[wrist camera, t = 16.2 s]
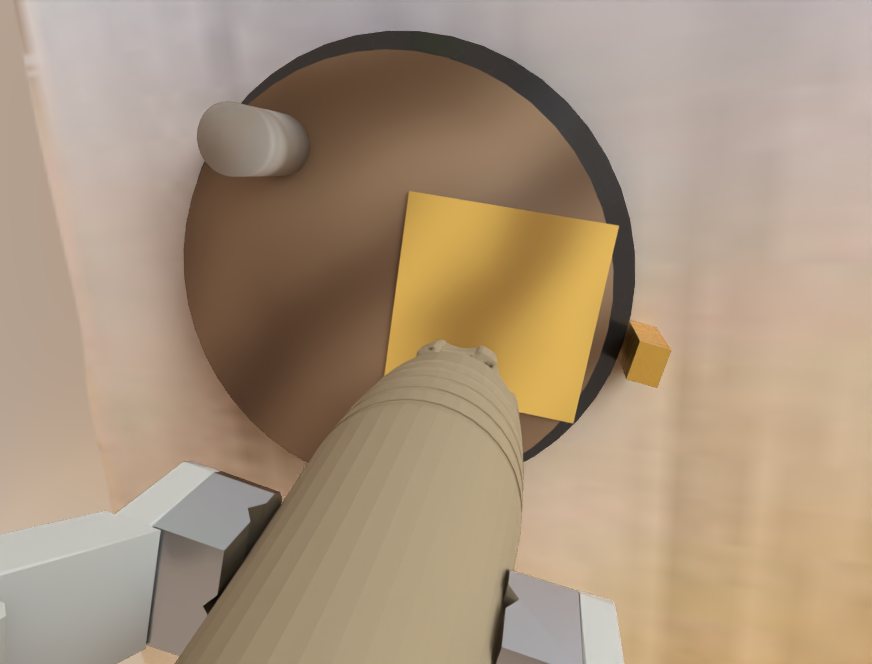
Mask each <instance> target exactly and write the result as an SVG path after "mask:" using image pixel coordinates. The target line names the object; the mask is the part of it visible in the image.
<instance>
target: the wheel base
mask: <svg viewBox="0 0 872 664" xmlns="http://www.w3.org/2000/svg"><path fill="white" fill-rule="evenodd" d="M382 49H389V50H406V51H418V52H423V53H427V54H432V55H437V56H442V57H447V58H449V59H452V60H455V61H458V62H460V63H463V64H466V65H469V66H471V67H474V68H477V69H479V70H481V71H482V72H484V73H486V74H488V75H490V76H492V77H494V78H495V79H497V80H499V81H501V82H503V83H505V84H506V85H508V86H509V87H510V88H512V89H513V90H514V91H516V92H517V93H518V94H520V95H521V96H523V97H524V98H525V99H527V100H528V101H529V102H531V103H532V104H533V105H534V106H535V107H536V108H537V109H538V110H539V111H540V112H541V113H542V114H543V115H544V116H545V117H546V118H547V119H548V120H549V121H550V122H551V123H552V124H553V125H554V126H555V127H556V128H557V130H558V131H559V132H560V133H561V135H562V136H563V137H564V139H565V140H566V141H567V142H568V144H569V145H570V146H571V148H572V149H573V150H574V152H575V153H576V155H577V157H578V158H579V160H580V162H581V164H582V165H583V167H584V169H585V171H586V172H587V174H588V176H589V178H590V179H591V182H592V184H593V187H594V189H595V192H596V194H597V197H598V199H599V202H600V204H601V207H602V209H603V213H604V217H605V221H606V224H612V225H618V226H619V228H618V233H617V237H616V241H615V246H614V250H613V254H612V261H613V270H614V273H613V303H612V309H611V315H610V321H609V327H608V332H607V335H606V338H605V341H604V345H603V348H602V351H601V354H600V357H599V360H598V362H597V364H596V366H595V368H594V371H593V373H592V375H591V377H590V379H589V381H588V383H587V385H586V387H585V388H584V390H583V391H582V393H581V394H580V397H579V401H578V405H577V410H576V414H575V418H574V423H575V422H576V421H577V420H578V419H579V418H580V417H581V415H582V414H583V413H584V412H585V410H586V409H587V408H588V407H589V405H590V404H591V403H592V402H593V400H594V399H595V398H596V396H597V395H598V393H599V391H600V390H601V388H602V386H603V385H604V383H605V381H606V380H607V378H608V376H609V375H610V373H611V371H612V368H613V366H614V364H615V361H616V359H617V357H618V356H619V359H620V362H621V365H622V368H623V371H624V373H625V376H626V379H628V380H631V381H635V382H638V383H642V384H645V385H649V386H652V387H656V388H657V387H658V384H659V381H660V379H661V376H662V374H663V371H664V368H665V366H666V363H667V360H668V358H669V355H670V352H671V349H670V347H669V346H668V344H667V343H666V341H665V340H664V338H663V337H662V335H661V334H660V332H659V331H658V329H657V328H656V327H652V326H649V325H645V324H641V323H638V322H634V321H630V316H631V309H632V302H633V294H634V286H635V251H634V244H633V237H632V230H631V223H630V218H629V215H628V211H627V208H626V204H625V201H624V197H623V194H622V190H621V187H620V185H619V183H618V180H617V178H616V176H615V174H614V172H613V169H612V167H611V165H610V163H609V160H608V158H607V156H606V155H605V153H604V151H603V150H602V148H601V147H600V145H599V143H598V142H597V140H596V139H595V137H594V135H593V134H592V132H591V131H590V129H589V128H588V126H587V125H586V124H585V123H584V122H583V120H582V119H581V118H580V117H579V116H578V115H577V113H576V112H575V111H574V110H573V109H572V107H571V106H570V105H569V104H568V103H567V102H566V101H565V100H564V99H563V98H562V97H561V96H560V95H559V94H557V93H556V92H555V91H554V90H553V89H552V88H551V87H550V86H549V85H547V84H546V83H545V82H544V81H543V80H542V79H540V78H539V77H537V76H536V75H534V74H533V73H531V72H530V71H528V70H527V69H525V68H524V67H522V66H521V65H519V64H518V63H516V62H515V61H513V60H511V59H509V58H507V57H505V56H503V55H501V54H499V53H497V52H494V51H492V50H490V49H488V48H486V47H484V46H481V45H478V44H475V43H471V42H468V41H465V40H462V39H458V38H455V37H452V36H446V35H440V34H433V33H427V32H420V31H384V32H377V33H370V34H362V35H355V36H352V37H349V38H345V39H342V40H338V41H335V42H332V43H328V44H325V45H323V46H321V47H319V48H316V49H314V50H312V51H310V52H308V53H306V54H303V55H301V56H299V57H297V58H296V59H294V60H292V61H291V62H289V63H288V64H286V65H285V66H283V67H282V68H280V69H279V70H277V71H276V72H274V73H273V74H271V75H270V76H269V77H268V78H267V79H266V80H264V81H263V82H262V83H261V84H260V85H259V86H258V87H256V88H255V89H254V90H253V91H252V92H251V93H250V94H249V95H248V96H247V97H246V98H245V99H244V101H243V102H242V103H241V104H244V105H248V104H249V103H250V102H252V101H253V100H254V99H255V98H257V97H258V96H259V95H260V94H262V93H263V92H264V91H265V90H267V89H268V88H269V87H270V86H272V85H273V84H275V83H276V82H278V81H280V80H282V79H283V78H285V77H287V76H288V75H290V74H292V73H294V72H295V71H297V70H299V69H302V68H304V67H306V66H309V65H311V64H314V63H316V62H319V61H321V60H324V59H327V58H331V57H335V56H340V55H344V54H348V53H352V52H360V51H371V50H382ZM205 164H206V162H204V164H203V166H202V168H201V171H202V169H203V167H204V165H205ZM200 174H201V172H200ZM199 177H200V175H199ZM198 180H199V178H198ZM197 182H198V181H197ZM196 185H197V184H196ZM195 188H196V187H195ZM194 191H195V190H194ZM574 423H568V422H564V421H560V422H559V423H558V424H557V426H556V427H555V428H554V429H553V430H552V431H551V432H549V433H548V434H547V435H546V436H545V437H544V438H543V439H542V440H540V441H539V442H538V443H537V444H536V445H535V446H534V447H532V448H531V449H529V450H528V451H526V452H525V453H523V462H525V461H527V460H528V459H530V458H532V457H534V456H535V455H537V454H538V453H539V452H541V451H542V450H544V449H545V448H546V447H548V446H549V445H551V444H552V443H553V442H555V441H556V440H557V439H558V438H559V437H560V436H561V435H563V434H564V433H565V432H566V431H567V430H568V429H569V428H570V427H571V426H572V425H573V424H574Z"/></svg>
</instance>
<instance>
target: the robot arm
mask: <svg viewBox="0 0 872 664" xmlns="http://www.w3.org/2000/svg"><path fill="white" fill-rule="evenodd" d="M281 503H282V497H281V494H280V492H278V491H275V490H272V489H270V488H267V487H264V486H261V485H258V484H255V483H253V482H250V481H247V480H244V479H241V478H239V477H236V476H233V475H230V474H227V473H225V472H222V471H220V472H219V471H218V470H216V469H213V468H210V467H207V466H204V465H201V464H198V463H195V462H192V461H188V462H182V463H181V464H179V465H178V466H177V467H175V468H174V469H173V470H172V471H170V472H169V473H168V474H166V475H165V476H164V477H162V478H161V479H160V480H158V481H157V482H156V483H155V484H153V485H152V486H151V487H149V488H148V489H147V490H145V491H144V492H143V493H141V494H140V495H139V496H138V497H136V498H135V499H134V500H132V501H131V502H130V503H128V504H127V505H126V506H124V507H123V508H122V509H121V510H119V511H118V512H117V513H115V514H113V513H110V512H107V511H102V512H97V513H93V514H88V515H84V516H80V517H75V518H70V519H66V520H62V521H57V522H53V523H48V524H44V525H40V526H35V527H30V528H26V529H22V530H17V531H13V532H8V533H4V534H0V664H117V663H119V662H121V661H123V660H124V659H126V658H129V657H130V656H132V655H134V654H136V653H138V652H140V651H142V650H144V649H145V648H146V645H148V646H151V647H154V648H157V649H160V650H163V651H166V652H169V653H172V654H175V655H178V656H180V655H181V654H182V652H183V651H184V649H185V648H186V646H187V645H188V643H189V642H190V640H191V639H192V637H193V636H194V634H195V633H196V631H197V630H198V628H199V627H200V626H201V624H202V623H203V621H204V620H205V618H206V617H207V615H208V614H209V612H210V611H211V609H212V608H213V606H214V605H215V603H216V602H217V600H218V599H219V597H220V596H221V594H222V593H223V592H224V590H225V589H226V587H227V586H228V584H229V583H230V581H231V580H232V578H233V577H234V575H235V574H236V572H237V571H238V569H239V568H240V566H241V565H242V563H243V562H244V560H245V559H246V557H247V556H248V554H249V553H250V551H251V550H252V548H253V547H254V545H255V543H256V542H257V540H258V539H259V537H260V536H261V534H262V533H263V531H264V530H265V528H266V527H267V525H268V524H269V522H270V521H271V519H272V518H273V516H274V515H275V513H276V511H277V510H278V508H279V507H280V505H281ZM494 664H624V658H623V651H622V645H621V638H620V632H619V625H618V618H617V612H616V605H615V604H614V603H613V601H612V600H610V599H607V598H604V597H600V596H597V595H593V594H590V593H587V592H583V591H580V590H574V589H571V588H567V587H564V586H561V585H558V584H555V583H552V582H548V581H545V580H542V579H539V578H536V577H533V576H529V575H526V574H523V573H520V572H517V571H514V570H510V569H508V570H507V576H506V582H505V589H504V596H503V617H502V620H501V623H500V626H499V629H498V636H497V643H496V650H495V657H494Z"/></svg>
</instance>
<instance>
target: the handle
mask: <svg viewBox="0 0 872 664" xmlns="http://www.w3.org/2000/svg"><path fill="white" fill-rule="evenodd" d="M523 475H524V466H523V447H522V434H521V426H520V420H519V408H518V402H517V399H516V396H515V394H514V393H512V392H510V391H509V389H508V388H507V386H506V384H505V383H504V381H503V380H502V379H501V376H500V373H499V370H498V366H497V356H496V354H495V353H494V352H492V351H491V350H490V349H488V348H486V347H485V346H481V345H480V346H478V347H475V348H461V347H457V346H453V345H451V344H448V343H447V342H446V341H445V340H442V339H441V340H437V341H434V342H431V343H429V344H426V345H424V346H423V347H421V348H420V349H419V350H418V351H417V355H416V357H415V358H413V359H411V360H409V361H407V362H404V363H403V364H401V365H400V366H398V367H396V368H395V369H393V370H392V371H391V372H389V373H388V374H386V375H385V376H384V377H383V378H382V379H381V380H379V381H378V382H377V383H376V384H375V385H374V386H373V387H372V388H371V389H370V390H368V391H367V392H366V393H365V394H364V395H363V396H362V397H361V398H360V399H359V400H358V401H357V402H356V403H355V404H354V405H353V406H352V407H351V408H350V410H349V411H348V412H347V413H346V414H345V416H344V417H343V418H342V419H341V420H340V421H339V423H338V424H337V425H336V426H335V427H334V429H333V430H332V431H331V433H330V434H329V435H328V436H327V437H326V438H325V440H324V441H323V442H322V444H321V445H320V446H319V448H318V449H317V451H316V452H315V454H314V455H313V457H312V458H311V460H310V461H309V463H308V464H307V466H306V467H305V469H304V470H303V472H302V473H301V475H300V476H299V478H298V480H297V481H296V483H295V484H294V486H293V487H292V489H291V490H290V492H289V493H288V495H287V496H286V498H285V499H284V501H283V502H282V504H281V505H280V507H279V508H278V510H277V511H276V513H275V515H274V516H273V518H272V519H271V521H270V522H269V524H268V525H267V527H266V528H265V530H264V531H263V533H262V534H261V536H260V537H259V539H258V540H257V542H256V543H255V545H254V547H253V548H252V550H251V551H250V553H249V554H248V556H247V557H246V559H245V560H244V562H243V563H242V565H241V566H240V568H239V569H238V571H237V572H236V574H235V575H234V577H233V578H232V580H231V581H230V583H229V584H228V586H227V587H226V589H225V590H224V592H223V593H222V594H221V596H220V597H219V599H218V600H217V602H216V603H215V605H214V606H213V608H212V609H211V611H210V612H209V614H208V615H207V617H206V618H205V620H204V621H203V623H202V624H201V626H200V627H199V628H198V630H197V631H196V633H195V634H194V636H193V637H192V639H191V640H190V642H189V643H188V645H187V646H186V648H185V649H184V651H183V652H182V654H181V655H180V657H179V658H178V660H177V661H176V663H175V664H494V657H495V650H496V643H497V636H498V629H499V626H500V623H501V620H502V617H503V596H504V589H505V582H506V576H507V570H508V569H510V570H514V567H515V562H516V556H517V550H518V544H519V539H520V533H521V520H522V502H523V480H524V476H523Z"/></svg>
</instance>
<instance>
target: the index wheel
mask: <svg viewBox="0 0 872 664" xmlns="http://www.w3.org/2000/svg"><path fill="white" fill-rule="evenodd" d="M197 141H198V146H199V150H200V153H201V155H202V157H203V159H204V160H205V162H206V164H205V165H204V167H203V169H202V171H201V174H200V177H199V180H198V182H197V185H196V188H195V191H194V193H193V196H192V200H191V205H190V209H189V214H188V218H187V223H186V232H185V243H184V277H185V284H186V291H187V298H188V304H189V308H190V312H191V315H192V319H193V323H194V327H195V330H196V333H197V335H198V338H199V340H200V343H201V345H202V348H203V350H204V353H205V355H206V357H207V359H208V361H209V363H210V365H211V366H212V368H213V370H214V372H215V374H216V376H217V378H218V379H219V381H220V382H221V383H222V385H223V386H224V388H225V389H226V391H227V392H228V394H229V395H230V397H231V398H232V399H233V401H234V402H235V403H236V404H237V405H238V406H239V408H240V409H241V410H242V411H243V412H244V413H245V415H246V416H247V417H248V418H249V419H250V420H251V421H252V422H253V423H254V424H255V425H256V426H257V427H259V428H260V429H261V430H262V431H263V432H264V433H265V434H266V435H267V436H268V437H270V438H271V439H272V440H274V441H275V442H276V443H278V444H279V445H280V446H282V447H283V448H285V449H286V450H287V451H289V452H290V453H292V454H294V455H295V456H297V457H299V458H301V459H302V460H304V461H306V462H307V463H309V461H310V460H311V458H312V457H313V455H314V454H315V452H316V451H317V449H318V448H319V446H320V445H321V444H322V442H323V441H324V440H325V438H326V437H327V436H328V435H329V434H330V433H331V431H332V430H333V429H334V427H335V426H336V425H337V424H338V423H339V421H340V420H341V419H342V418H343V417H344V416H345V414H346V413H347V412H348V411H349V410H350V408H351V407H352V406H353V405H354V404H355V403H356V402H357V401H358V400H359V399H360V398H361V397H362V396H363V395H364V394H365V393H366V392H367V391H368V390H370V389H371V388H372V387H373V386H374V385H375V384H376V383H377V382H378V381H379V380H381V379H382V378H383V377H384V376H385V375H386V374H388V373H389V372H391V371H392V370H393V369H395V368H396V367H398V366H400V365H401V364H403V363H404V362H407V361H409V360H411V359H413V358H415V357H416V355H417V351H418V350H419V349H420V348H421V347H423V346H424V345H426V344H429V343H431V342H434V341H437V340H441V339H442V340H445V341H446V342H447V343H448V344H451V345H453V346H457V347H461V348H475V347H478V346H480V345H481V346H485V347H486V348H488V349H490V350H491V351H492V352H494V353H495V354H496V356H497V366H498V370H499V373H500V376H501V379H502V380H503V381H504V383H505V384H506V386H507V388H508V389H509V391H510V392H512V393H514V394H515V396H516V399H517V402H518V408H519V420H520V426H521V434H522V447H523V453H525V452H526V451H528V450H529V449H531V448H532V447H534V446H535V445H536V444H537V443H538V442H539V441H540V440H542V439H543V438H544V437H545V436H546V435H547V434H548V433H549V432H551V431H552V430H553V429H554V428H555V427H556V426H557V424H558V423H559V422H560V421H564V422H568V423H574V418H575V414H576V410H577V405H578V401H579V397H580V394H581V393H582V391H583V390H584V388H585V387H586V385H587V383H588V381H589V379H590V377H591V375H592V373H593V371H594V368H595V366H596V364H597V362H598V360H599V357H600V354H601V351H602V348H603V345H604V341H605V338H606V335H607V332H608V327H609V321H610V315H611V309H612V303H613V273H614V270H613V261H612V254H613V250H614V246H615V241H616V237H617V233H618V228H619V226H618V225H612V224H606V221H605V217H604V213H603V209H602V207H601V204H600V202H599V199H598V197H597V194H596V192H595V189H594V187H593V184H592V182H591V179H590V178H589V176H588V174H587V172H586V171H585V169H584V167H583V165H582V164H581V162H580V160H579V158H578V157H577V155H576V153H575V152H574V150H573V149H572V148H571V146H570V145H569V144H568V142H567V141H566V140H565V139H564V137H563V136H562V135H561V133H560V132H559V131H558V130H557V128H556V127H555V126H554V125H553V124H552V123H551V122H550V121H549V120H548V119H547V118H546V117H545V116H544V115H543V114H542V113H541V112H540V111H539V110H538V109H537V108H536V107H535V106H534V105H533V104H532V103H531V102H529V101H528V100H527V99H525V98H524V97H523V96H521V95H520V94H518V93H517V92H516V91H514V90H513V89H512V88H510V87H509V86H508V85H506V84H505V83H503V82H501V81H499V80H497V79H495V78H494V77H492V76H490V75H488V74H486V73H484V72H482V71H481V70H479V69H477V68H474V67H471V66H469V65H466V64H463V63H460V62H458V61H455V60H452V59H449V58H447V57H442V56H437V55H432V54H427V53H423V52H418V51H406V50H389V49H382V50H371V51H360V52H352V53H348V54H344V55H340V56H335V57H331V58H327V59H324V60H321V61H319V62H316V63H314V64H311V65H309V66H306V67H304V68H302V69H299V70H297V71H295V72H294V73H292V74H290V75H288V76H287V77H285V78H283V79H282V80H280V81H278V82H276V83H275V84H273V85H272V86H270V87H269V88H268V89H267V90H265V91H264V92H263V93H262V94H260V95H259V96H258V97H257V98H255V99H254V100H253V101H252V102H250V103H249V104H248V105H244V104H239V103H235V102H220V103H217V104H215V105H213V106H212V107H210V108H209V109H208V110H207V111H206V112H205V113H204V115H203V116H202V118H201V120H200V123H199V126H198V131H197Z"/></svg>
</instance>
